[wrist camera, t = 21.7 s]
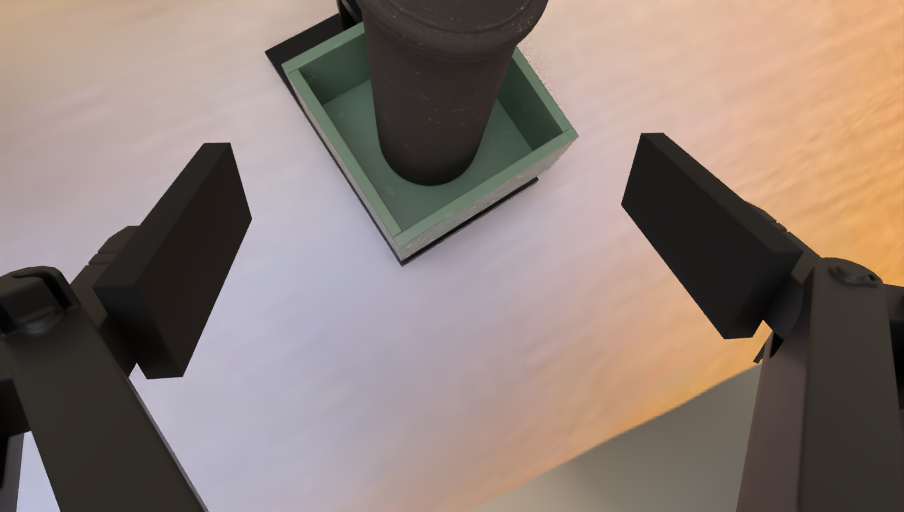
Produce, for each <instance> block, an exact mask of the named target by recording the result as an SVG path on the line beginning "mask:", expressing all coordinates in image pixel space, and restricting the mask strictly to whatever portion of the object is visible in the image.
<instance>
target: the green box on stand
mask: <svg viewBox="0 0 904 512" xmlns="http://www.w3.org/2000/svg"><path fill="white" fill-rule="evenodd" d="M336 2H337V6H338V10H339V13H338V14H336V15H334V16H332V17H330V18H328V19H326V20H324V21H322V22H320V23H319V24H317V25H315V26H313V27H311V28H309V29H307V30H305V31H303V32H301V33H299V34H297V35H295V36H294V37H292V38H290V39H288V40H286V41H284V42H282V43H280V44H278V45H276V46H274V47H272V48H270V49H269V50H267V51H265V54H266V55H267V57H268V59H269V60H270V62H271V63H272V65H273V66H274V68H275V70H276V71H277V73H278V74H279V76H280V77H281V79H282V81H283V82H284V84H285V85H286V87H287V88H288V90H289V91H290V93H291V95H292V96H293V98H294V99H295V101H296V102H297V104H298V105H299V107H300V109H301V110H302V112H303V113H304V115H305V116H306V118H307V120H308V121H309V123H310V124H311V126H312V127H313V129H314V130H315V132H316V134H317V135H318V137H319V138H320V140H321V141H322V143H323V144H324V146H325V148H326V149H327V151H328V152H329V154H330V155H331V157H332V158H333V160H334V162H335V163H336V165H337V166H338V168H339V169H340V171H341V173H342V174H343V176H344V177H345V179H346V180H347V182H348V183H349V185H350V187H351V188H352V190H353V191H354V193H355V194H356V196H357V197H358V199H359V201H360V202H361V204H362V205H363V207H364V208H365V210H366V212H367V213H368V215H369V216H370V218H371V219H372V221H373V222H374V224H375V226H376V227H377V229H378V230H379V232H380V233H381V235H382V236H383V238H384V240H385V241H386V243H387V244H388V246H389V247H390V249H391V251H392V252H393V254H394V255H395V257H396V258H397V260H398V261H399V263H400V265H401V266H402V267H403V266H404V265H406V264H408V263H409V262H411V261H412V260H414V259H416V258H417V257H419V256H420V255H422V254H423V253H425V252H427V251H428V250H430V249H431V248H433V247H435V246H436V245H438V244H439V243H441V242H443V241H444V240H446V239H447V238H449V237H451V236H452V235H454V234H455V233H457V232H458V231H460V230H462V229H463V228H465V227H466V226H468V225H470V224H471V223H473V222H474V221H476V220H478V219H479V218H481V217H482V216H484V215H485V214H487V213H489V212H490V211H492V210H493V209H495V208H497V207H498V206H500V205H501V204H503V203H505V202H506V201H508V200H509V199H511V198H513V197H514V196H516V195H517V194H519V193H520V192H522V191H524V190H525V189H527V188H528V187H530V186H532V185H533V184H535V183H536V182H537V181H538V180H539V179H538V177H537V176H538V175H539V174H541V173H543V172H544V171H546V170H547V169H549V168H550V167H551V166H552V165H553V164H554V163H555V162H556V161H557V159H558V158H559V157H560V156H561V155H562V154H563V153H564V152H565V151H566V150H567V148H568V147H569V146H570V145H571V144H572V143H573V142H574V141H575V140H576V139H577V138H578V134H577V133H576V131H575V130H574V128H573V127H572V125H571V124H570V123H569V121H568V120H567V118H566V117H565V115H564V114H563V112H562V111H561V109H560V108H559V107H558V105H557V104H556V102H555V101H554V99H553V98H552V96H551V95H550V93H549V92H548V91H547V89H546V88H545V86H544V85H543V83H542V82H541V80H540V79H539V77H538V76H537V75H536V73H535V72H534V70H533V69H532V67H531V66H530V64H529V63H528V61H527V60H526V59H525V57H524V56H523V54H522V53H521V51H520V50H519V48H518V47H517V46H516V48H515V50H514V53H513V55H512V58H511V60H510V63H509V66H508V68H507V71H506V74H505V77H504V79H503V82H502V84H501V87H500V90H499V92H498V95H497V97H496V100H495V103H494V105H493V108H492V111H491V114H490V117H489V120H488V122H487V125H486V128H485V131H484V134H483V137H482V140H481V143H480V146H479V148H478V151H477V153H476V155H475V158H474V160H473V162H472V163H471V165H470V166H469V167H468V169H467V170H466V171H465V172H464V173H463V174H462V175H460V176H459V177H458V178H456V179H454V180H453V181H451V182H448V183H446V184H442V185H436V186H424V185H418V184H415V183H412V182H409V181H407V180H405V179H404V178H402V177H400V176H399V175H398V174H397V173H395V172H394V171H393V170H392V169H391V167H390V166H389V165H388V163H387V162H386V160H385V159H384V157H383V154H382V152H381V148H380V146H379V139H378V134H377V126H376V117H375V109H374V101H373V93H372V86H371V79H370V71H369V62H368V54H367V45H366V38H365V31H364V24H363V18H362V10H361V9H360V7H359V6H358V5H357V3H356V1H355V0H336ZM571 127H572V128H571Z"/></svg>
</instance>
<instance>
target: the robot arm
mask: <svg viewBox="0 0 904 512" xmlns="http://www.w3.org/2000/svg"><path fill="white" fill-rule="evenodd" d="M621 205H622V207H623V208H624V209H625V211H626V212H627V213H628V215H629V216H630V217H631V218H632V220H633V221H634V222H635V224H636V225H637V226H638V228H639V229H640V230H641V232H642V233H643V234H644V235H645V237H646V238H647V239H648V241H649V242H650V243H651V245H652V246H653V247H654V248H655V250H656V251H657V252H658V254H659V255H660V256H661V258H662V259H663V260H664V261H665V263H666V264H667V265H668V267H669V268H670V269H671V271H672V272H673V273H674V275H675V276H676V277H677V278H678V280H679V281H680V282H681V284H682V285H683V286H684V288H685V289H686V290H687V291H688V293H689V294H690V295H691V297H692V298H693V299H694V301H695V302H696V303H697V304H698V306H699V307H700V308H701V310H702V311H703V312H704V314H705V315H706V316H707V318H708V319H709V320H710V321H711V323H712V324H713V325H714V327H715V328H716V329H717V331H718V332H719V333H720V334H721V336H722V337H723V338H724V339H736V338H750V337H753V335H754V334H755V332H756V330H757V329H758V327H759V325H760V324H761V322H762V320H764V321H765V322H766V323H767V324H768V326H769V327H770V328H771V329H772V330H773V331H772V333H771V334H770V336H769V337H768V339H767V340H766V342H765V344H764V345H763V347H762V348H761V350H760V352H759V353H758V355H757V356H756V358H755V359H754V361H753V362H755V363H759V361H760V360H761V359H763V361H762V367H761V373H760V378H759V384H758V390H757V395H756V401H755V407H754V412H753V418H752V424H751V429H750V435H749V441H748V447H747V453H746V458H745V464H744V470H743V475H742V481H741V487H740V492H739V498H738V504H737V509H736V512H904V287H901V286H894V285H888V284H883V282H882V280H881V278H879V277H878V276H877V275H876V274H875V273H874V272H872V271H871V270H869V269H867V268H865V267H864V266H862V265H859V264H857V263H854V262H851V261H849V260H844V259H840V258H827V257H825V258H821V257H820V256H819V255H818V254H816V253H815V252H814V251H813V250H812V249H810V248H809V247H808V246H807V245H805V244H804V243H803V242H802V241H801V240H799V239H798V238H797V237H796V236H794V235H793V234H792V233H791V232H787V229H786V228H785V227H784V226H782V225H781V224H780V223H776V220H775V219H774V218H773V217H771V216H770V215H769V214H768V213H766V212H765V211H764V210H762V209H760V208H758V207H756V206H754V205H752V204H750V203H748V202H746V201H744V200H743V199H742V198H740V197H739V196H738V195H737V194H736V193H734V192H733V191H732V190H731V189H730V188H728V187H727V186H726V185H725V184H724V183H722V182H721V181H720V180H719V179H718V178H716V177H715V176H714V175H713V174H712V173H711V172H709V171H708V170H707V169H706V168H705V167H703V166H702V165H701V164H700V163H699V162H697V161H696V160H695V159H694V158H693V157H691V156H690V155H689V154H688V153H687V152H685V151H684V150H683V149H682V148H681V147H679V146H678V145H677V144H676V143H675V142H674V141H672V140H671V139H670V138H669V137H668V136H666V135H665V134H664V133H641V136H640V139H639V143H638V146H637V150H636V154H635V157H634V161H633V164H632V168H631V171H630V175H629V178H628V182H627V185H626V189H625V193H624V196H623V200H622V203H621ZM251 220H252V217H251V214H250V210H249V207H248V203H247V200H246V196H245V193H244V189H243V186H242V182H241V179H240V175H239V172H238V168H237V165H236V161H235V158H234V154H233V151H232V147H231V144H230V143H204V144H203V145H202V146H201V147H200V149H199V150H198V151H197V153H196V154H195V155H194V156H193V158H192V159H191V160H190V162H189V163H188V164H187V165H186V167H185V168H184V169H183V171H182V172H181V173H180V174H179V176H178V177H177V178H176V180H175V181H174V182H173V183H172V185H171V186H170V187H169V189H168V190H167V191H166V192H165V194H164V195H163V196H162V197H161V199H160V200H159V201H158V203H157V204H156V205H155V206H154V208H153V209H152V210H151V212H150V213H149V214H148V215H147V217H146V218H145V219H144V221H143V222H142V223H141V224H140V226H127V227H125V228H124V229H122V230H121V231H119V232H118V233H116V234H115V235H113V236H112V237H110V238H109V239H108V240H107V241H106V242H105V244H104V245H103V246H102V247H101V248H100V249H99V251H98V254H95V255H94V257H93V258H92V259H91V260H90V261H89V265H86V266H85V267H84V268H83V270H82V271H81V272H80V273H79V274H78V276H77V277H76V278H75V279H74V280H73V281H72V283H71V284H70V285H69V284H68V282H67V280H66V279H65V277H64V276H63V274H62V273H61V272H60V271H59V270H58V269H56V268H55V267H48V266H37V267H27V268H24V269H20V270H17V271H13V272H10V273H8V274H5V275H3V276H1V277H0V512H16V509H17V499H18V489H19V479H20V469H21V459H22V449H23V439H24V433H25V432H29V431H32V434H33V437H34V440H35V442H36V445H37V448H38V451H39V453H40V456H41V459H42V462H43V465H44V467H45V470H46V473H47V476H48V478H49V481H50V484H51V487H52V489H53V492H54V495H55V498H56V500H57V503H58V506H59V509H60V512H209V511H208V509H207V507H206V506H205V504H204V502H203V501H202V499H201V497H200V496H199V494H198V492H197V491H196V489H195V487H194V486H193V484H192V482H191V481H190V479H189V477H188V476H187V474H186V472H185V471H184V469H183V467H182V466H181V464H180V462H179V461H178V459H177V457H176V456H175V454H174V452H173V451H172V449H171V447H170V446H169V444H168V442H167V441H166V439H165V437H164V436H163V434H162V432H161V431H160V429H159V427H158V426H157V424H156V422H155V421H154V419H153V417H152V416H151V414H150V412H149V411H148V409H147V407H146V406H145V404H144V402H143V401H142V399H141V397H140V396H139V394H138V392H137V391H136V389H135V387H134V386H133V384H132V383H131V381H130V379H129V378H128V377H129V376H130V374H131V372H132V370H133V368H134V367H135V365H136V363H137V364H138V365H139V367H140V369H141V370H142V372H143V374H144V375H145V377H146V379H160V378H174V377H183V375H184V373H185V371H186V368H187V366H188V364H189V361H190V359H191V357H192V355H193V352H194V350H195V348H196V345H197V343H198V341H199V339H200V336H201V334H202V332H203V330H204V327H205V325H206V323H207V320H208V318H209V316H210V314H211V311H212V309H213V307H214V304H215V302H216V300H217V298H218V295H219V293H220V291H221V289H222V286H223V284H224V282H225V279H226V277H227V275H228V273H229V270H230V268H231V266H232V264H233V261H234V259H235V257H236V254H237V252H238V250H239V248H240V245H241V243H242V241H243V238H244V236H245V234H246V232H247V229H248V227H249V225H250V223H251Z"/></svg>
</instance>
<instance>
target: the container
mask: <svg viewBox="0 0 904 512" xmlns="http://www.w3.org/2000/svg"><path fill="white" fill-rule="evenodd" d="M355 1H356V3H357V5H358V6H359V7H360V9H361V10H362V18H363V24H364V31H365V38H366V45H367V54H368V62H369V71H370V79H371V86H372V93H373V101H374V109H375V117H376V126H377V134H378V139H379V146H380V148H381V152H382V154H383V157H384V159H385V160H386V162H387V163H388V165H389V166H390V167H391V169H392V170H393V171H394V172H395V173H397V174H398V175H399V176H400V177H402V178H404V179H405V180H407V181H409V182H412V183H415V184H418V185H424V186H436V185H442V184H446V183H448V182H451V181H453V180H454V179H456V178H458V177H459V176H460V175H462V174H463V173H464V172H465V171H466V170H467V169H468V167H469V166H470V165H471V163H472V162H473V160H474V158H475V155H476V153H477V151H478V148H479V146H480V143H481V140H482V137H483V134H484V131H485V128H486V125H487V122H488V120H489V117H490V114H491V111H492V108H493V105H494V103H495V100H496V97H497V95H498V92H499V90H500V87H501V84H502V82H503V79H504V77H505V74H506V71H507V68H508V66H509V63H510V60H511V58H512V55H513V53H514V50H515V48H516V45H517V44H518V43H519V42H521V41H522V40H523V39H524V38H525V37H526V36H527V35H528V34H529V33H530V32H531V31H532V29H533V28H534V27H535V25H536V24H537V22H538V21H539V19H540V18H541V16H542V14H543V12H544V10H545V8H546V5H547V3H548V0H355Z"/></svg>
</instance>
